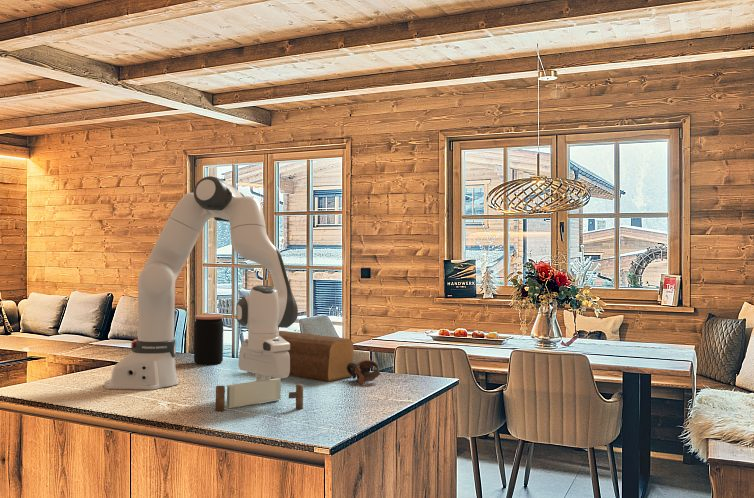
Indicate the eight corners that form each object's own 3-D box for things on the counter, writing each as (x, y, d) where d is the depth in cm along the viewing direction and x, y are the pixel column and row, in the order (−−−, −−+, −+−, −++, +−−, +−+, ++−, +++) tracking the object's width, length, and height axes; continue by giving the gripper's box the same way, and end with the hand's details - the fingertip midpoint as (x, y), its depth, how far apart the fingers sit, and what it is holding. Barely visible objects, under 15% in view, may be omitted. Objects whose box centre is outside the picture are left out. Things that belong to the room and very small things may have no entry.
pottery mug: (382, 381, 239) (385, 362, 235) (372, 398, 232) (375, 379, 227) (349, 369, 242) (352, 351, 238) (338, 386, 235) (341, 367, 230)
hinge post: (215, 411, 190) (215, 387, 190) (215, 409, 192) (216, 385, 192) (224, 411, 191) (224, 387, 190) (224, 409, 193) (225, 385, 193)
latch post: (288, 410, 193) (289, 386, 193) (288, 407, 196) (288, 384, 196) (303, 409, 194) (303, 386, 194) (302, 407, 196) (303, 384, 196)
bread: (283, 365, 264) (283, 327, 264) (354, 377, 244) (355, 336, 244) (256, 370, 253) (256, 331, 253) (328, 383, 233) (329, 340, 233)
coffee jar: (228, 362, 268) (229, 315, 268) (208, 366, 259) (208, 317, 259) (208, 359, 273) (209, 313, 273) (187, 363, 264) (188, 315, 264)
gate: (229, 407, 193) (229, 385, 193) (226, 407, 194) (227, 385, 194) (280, 399, 204) (280, 378, 204) (277, 398, 205) (278, 378, 205)
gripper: (233, 339, 209) (232, 385, 209) (276, 346, 195) (275, 396, 195) (251, 337, 214) (250, 382, 214) (294, 344, 199) (293, 393, 200)
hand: (262, 389), depth 204 cm, fingers closed
